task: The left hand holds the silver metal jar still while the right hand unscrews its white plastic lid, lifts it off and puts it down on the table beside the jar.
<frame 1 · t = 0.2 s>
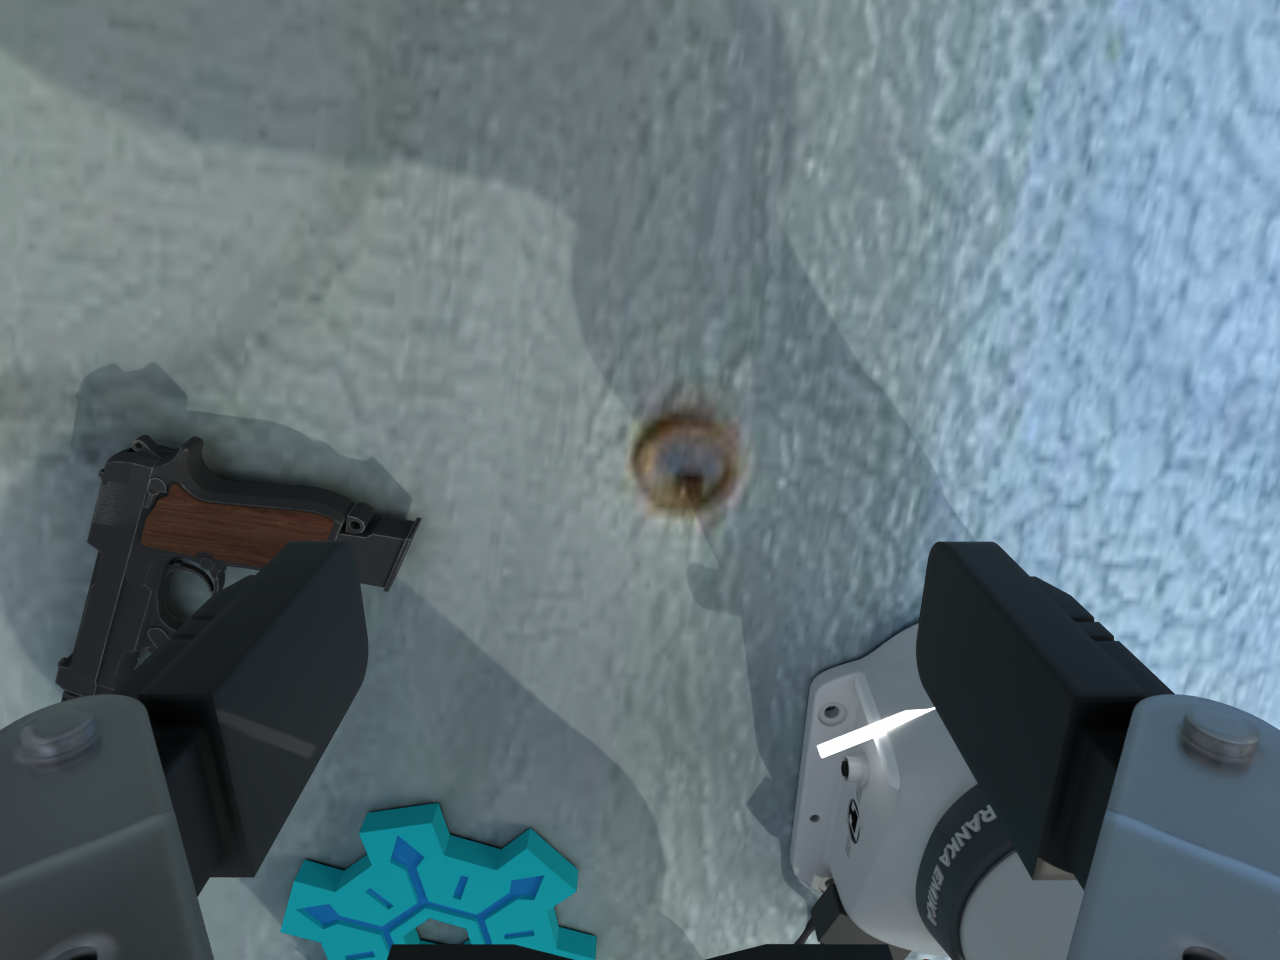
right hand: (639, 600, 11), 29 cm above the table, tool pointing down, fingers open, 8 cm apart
decorative ornament: (445, 920, 53), on the table
handgun: (235, 608, 44), on the table
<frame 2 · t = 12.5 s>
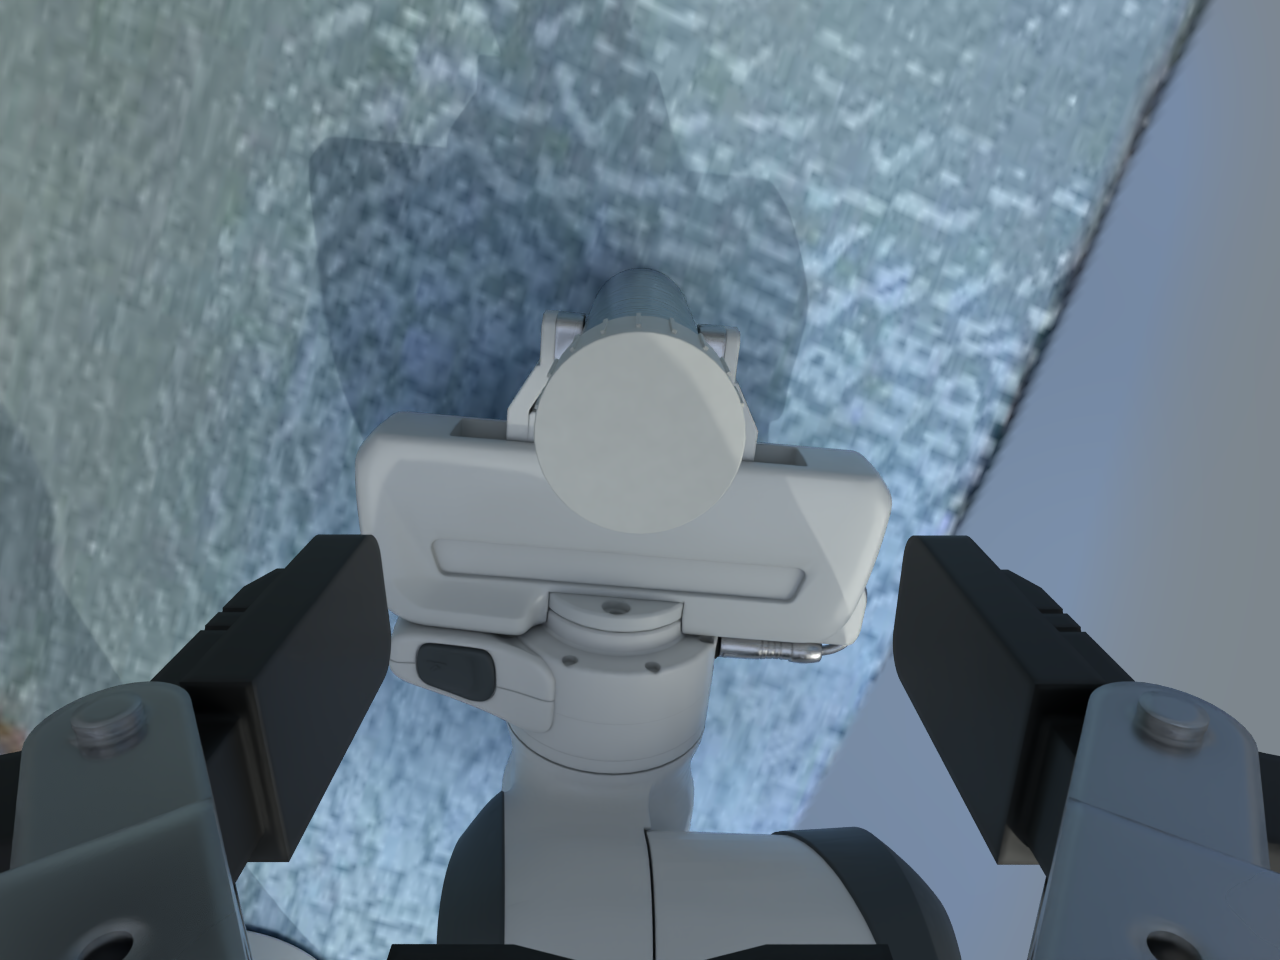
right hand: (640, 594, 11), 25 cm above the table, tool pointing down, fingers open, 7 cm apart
left hand: (641, 320, 28), fingers closed on jar, 4 cm apart
jar: (640, 317, 35), on the table, touching left hand
lid: (639, 433, 18), point 17 cm above the table, screwed on, not yet turned
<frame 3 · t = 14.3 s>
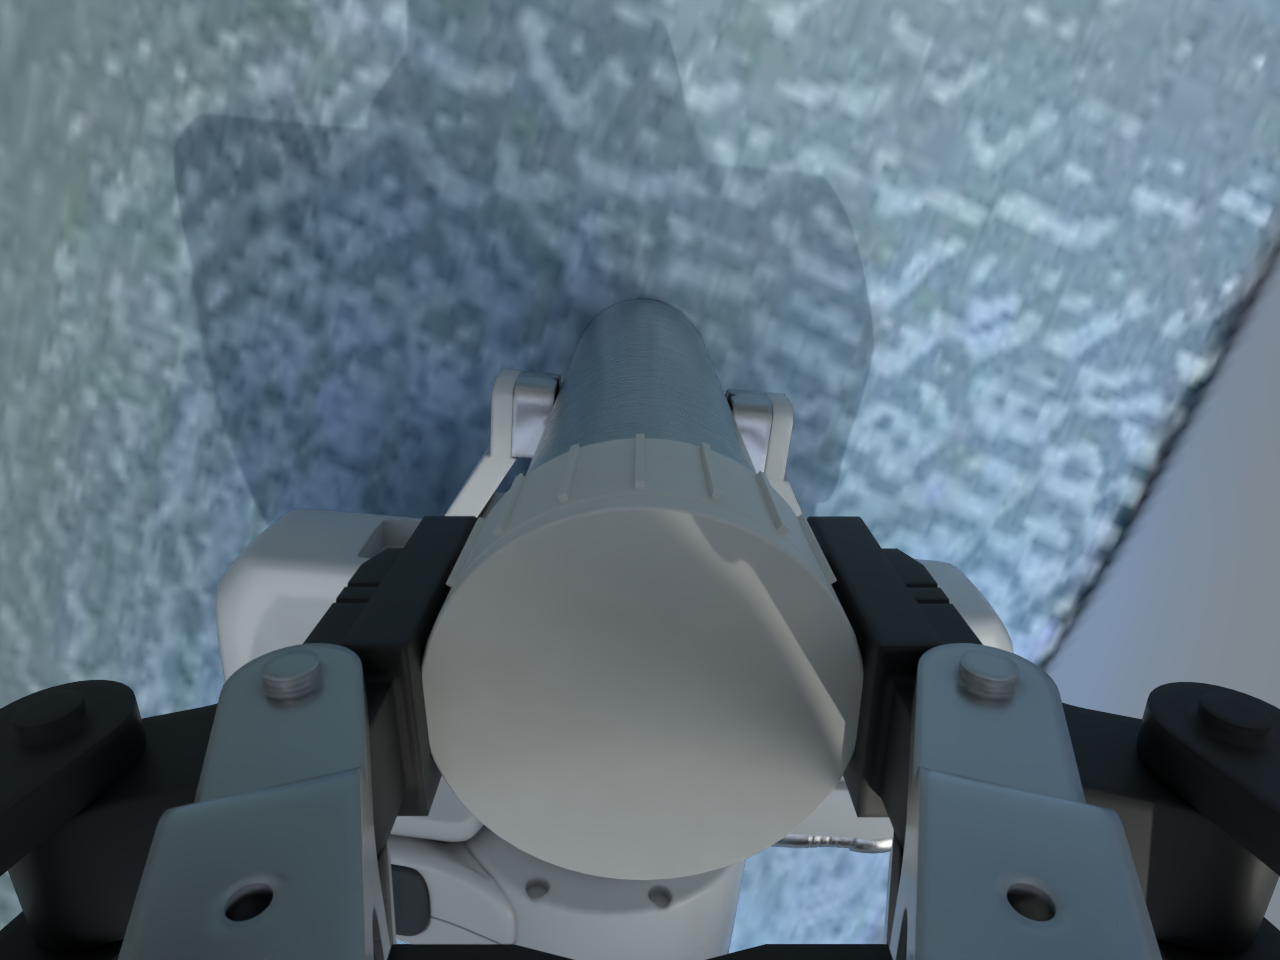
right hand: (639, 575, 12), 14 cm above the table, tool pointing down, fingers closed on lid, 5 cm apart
jar: (641, 365, 25), on the table, touching left hand
lid: (642, 693, 9), point 17 cm above the table, screwed on, not yet turned, touching right hand
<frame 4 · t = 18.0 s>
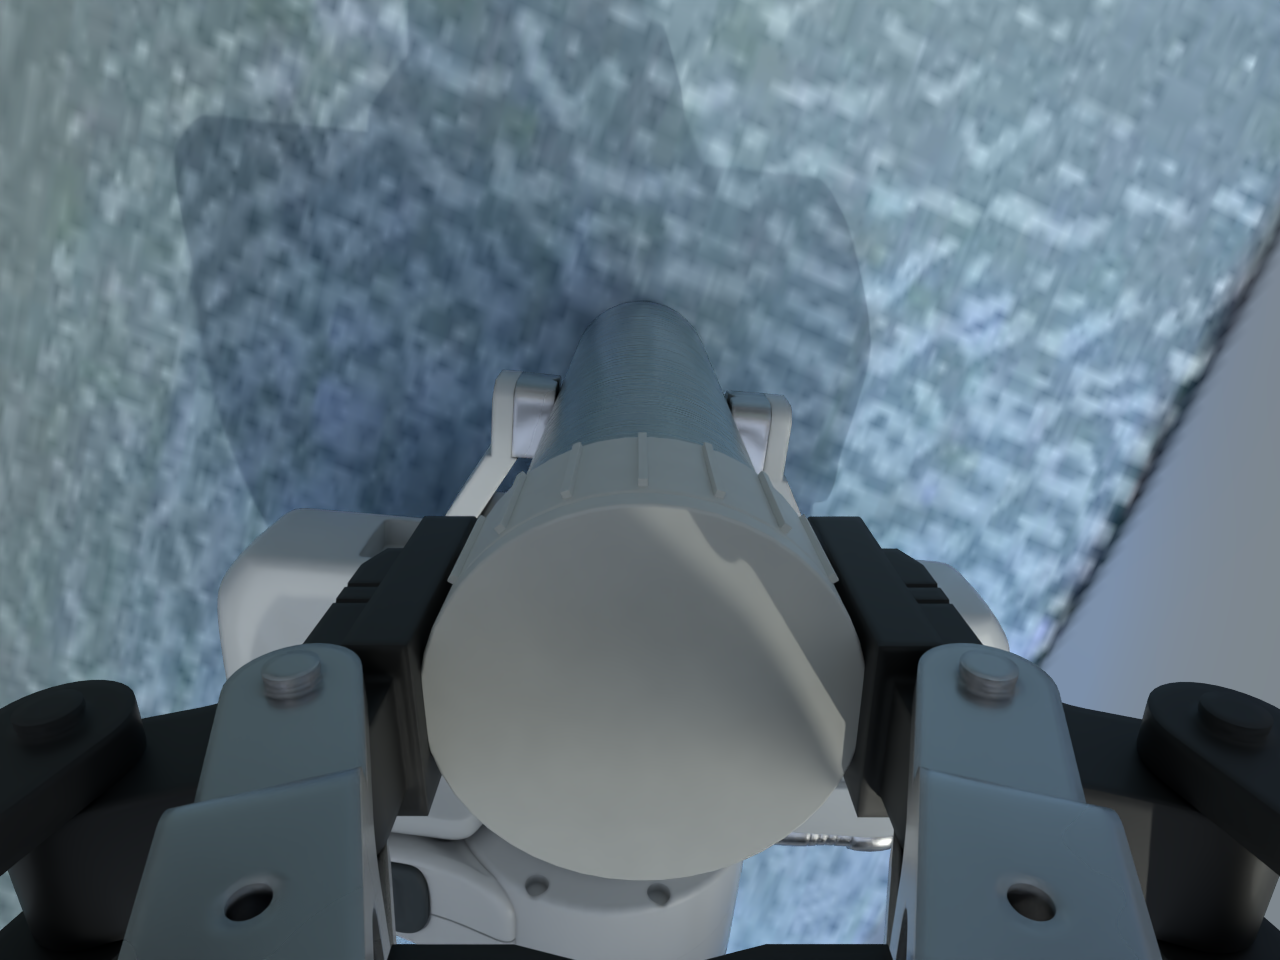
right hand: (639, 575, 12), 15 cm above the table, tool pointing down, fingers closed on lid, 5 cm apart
jar: (640, 367, 25), on the table, touching left hand
lid: (643, 692, 9), point 18 cm above the table, turned 94° so far, risen 0.1 cm, still on its thread, touching right hand
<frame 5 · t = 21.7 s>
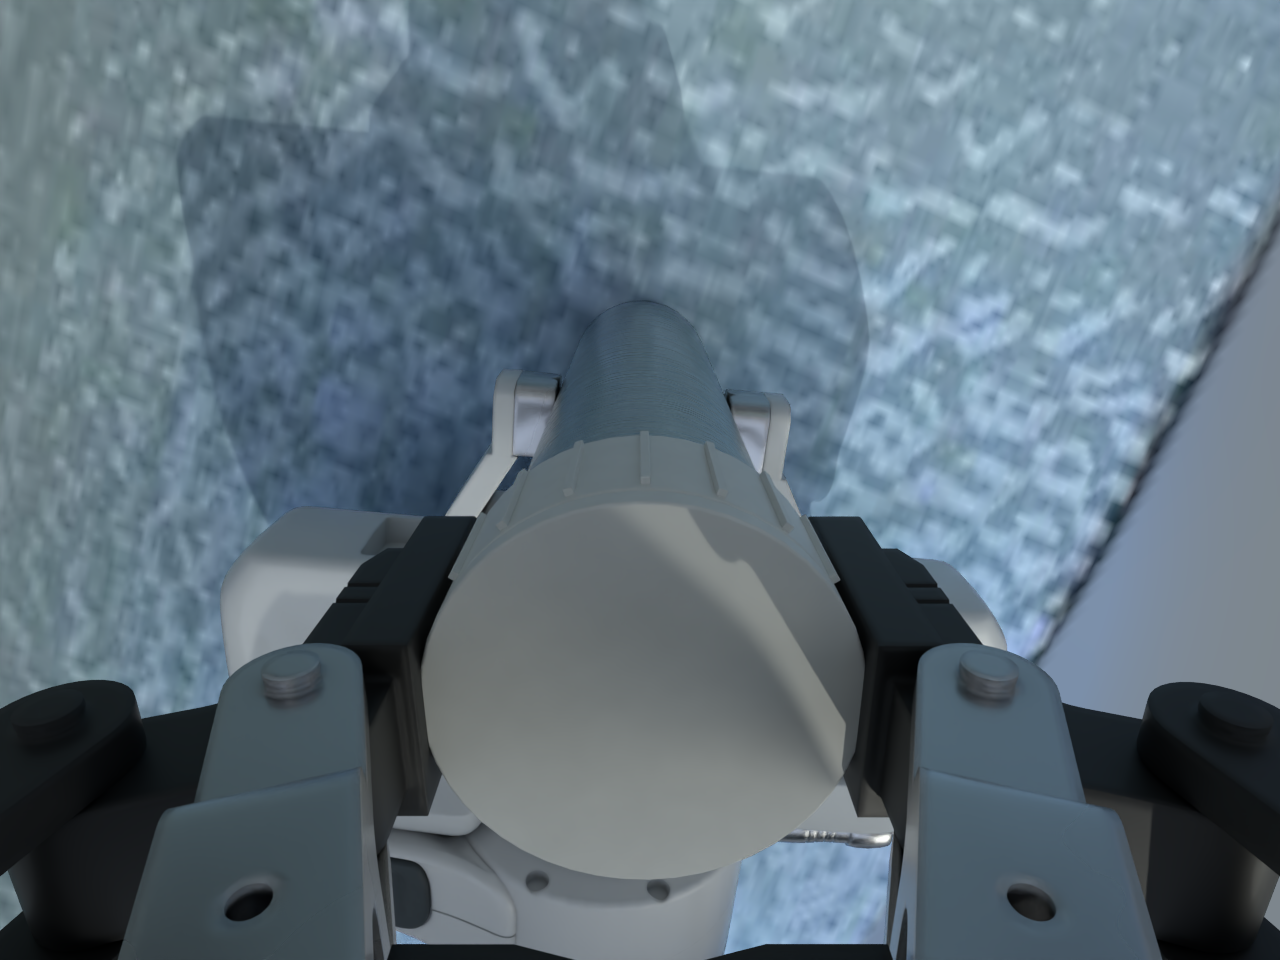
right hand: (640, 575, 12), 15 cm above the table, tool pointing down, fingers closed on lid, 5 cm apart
jar: (640, 367, 25), on the table, touching left hand
lid: (643, 691, 9), point 18 cm above the table, turned 189° so far, risen 0.3 cm, still on its thread, touching right hand
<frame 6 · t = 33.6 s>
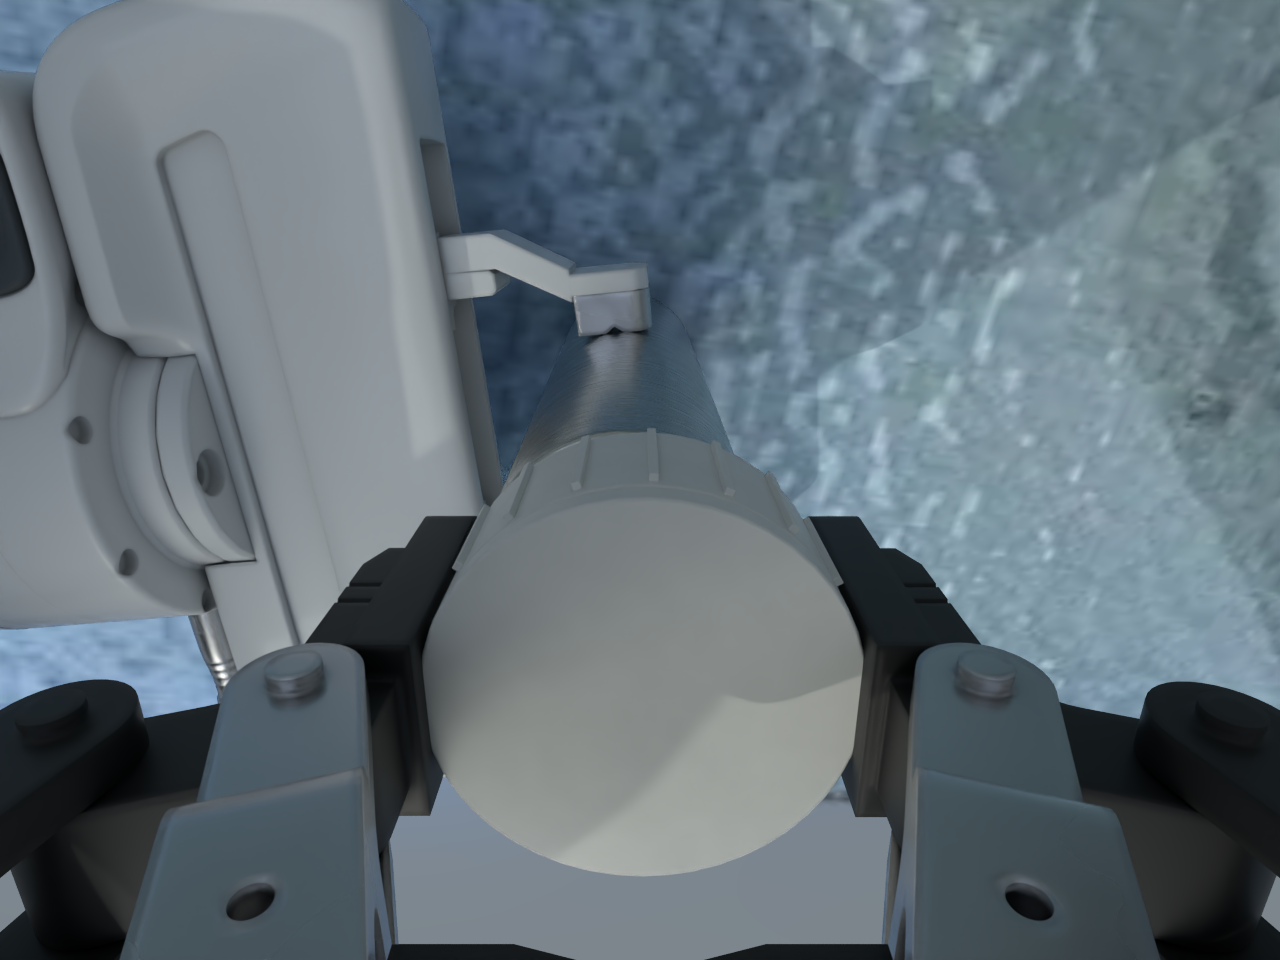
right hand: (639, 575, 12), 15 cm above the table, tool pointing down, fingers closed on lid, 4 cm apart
left hand: (659, 404, 20), fingers closed on jar, 4 cm apart
jar: (627, 358, 26), on the table, touching left hand
lid: (643, 687, 9), point 18 cm above the table, off its thread, touching right hand
when the right hand's fingers open (0 cm above the table, at t = 40.2 s): lid drops 1 cm, point 2 cm above the table.
when the left hand's fingers open (6 cm above the table, at t = 41.2 s): jar stays where it is, on the table.
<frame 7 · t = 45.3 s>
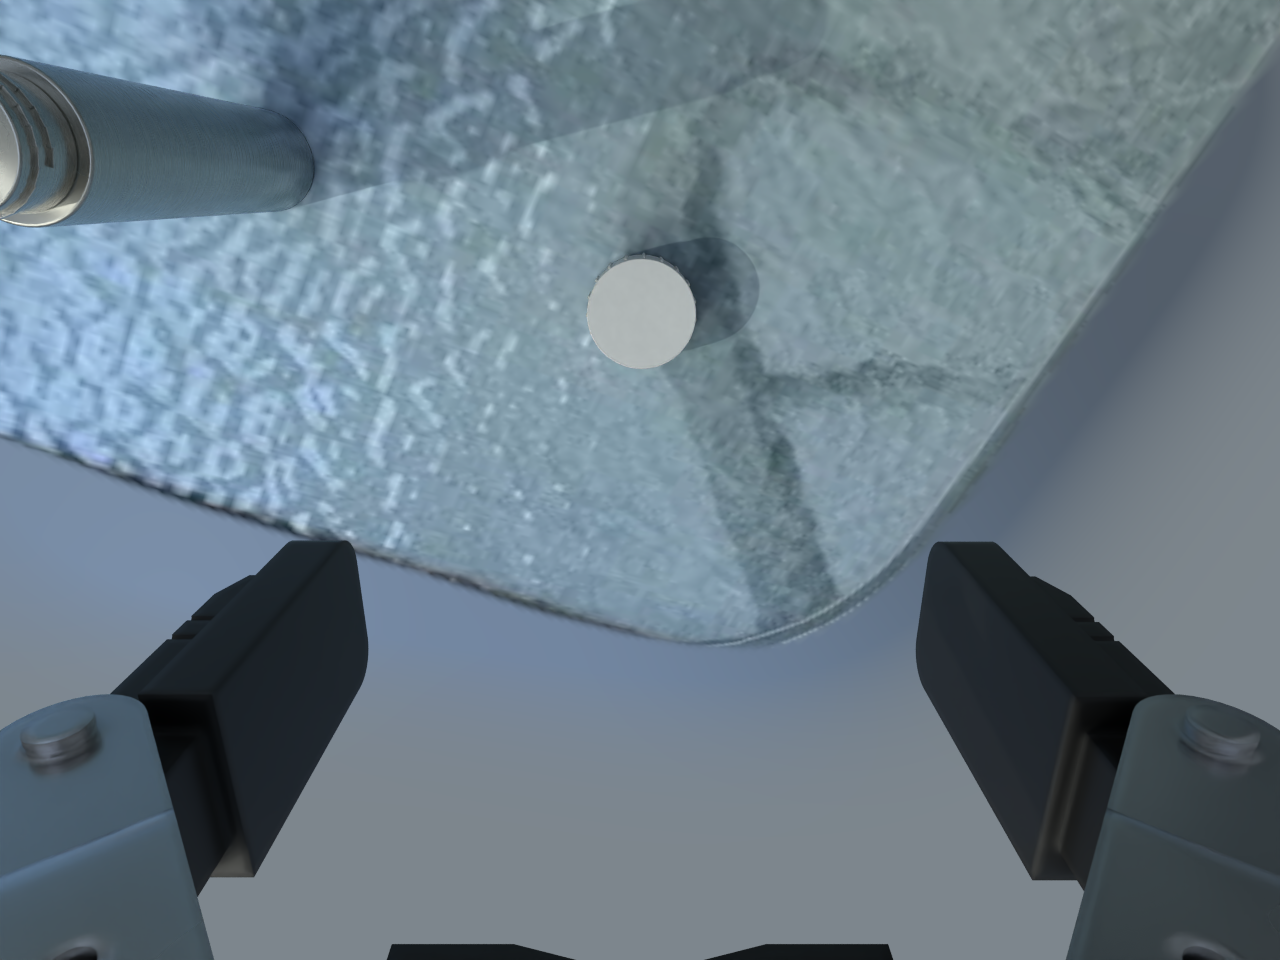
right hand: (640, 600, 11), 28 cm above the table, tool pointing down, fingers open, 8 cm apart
jar: (266, 161, 35), on the table
lid: (641, 314, 35), point 2 cm above the table, off its thread
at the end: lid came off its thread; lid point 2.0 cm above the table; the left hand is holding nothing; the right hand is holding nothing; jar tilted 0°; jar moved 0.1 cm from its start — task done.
